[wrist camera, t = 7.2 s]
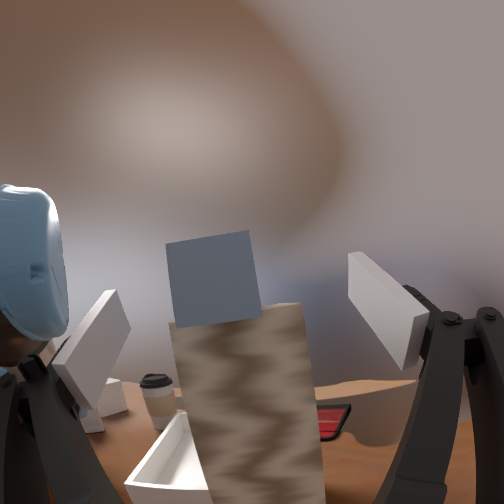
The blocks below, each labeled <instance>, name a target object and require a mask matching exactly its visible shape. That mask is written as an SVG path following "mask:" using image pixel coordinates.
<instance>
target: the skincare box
mask: <svg viewBox="0 0 504 504" xmlns="http://www.w3.org/2000/svg"><path fill="white" fill-rule="evenodd" d="M81 422H82V425H83V428H84V430H85V433H94V432H102V431H105V429H104V425H103V423H102V420H101V417H100V413H99V410H98V407H97V406H96V408H95V411H94V410H88V415H87V416H86V417H85V418H81Z"/></svg>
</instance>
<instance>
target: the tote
mask: <svg viewBox="0 0 504 504" xmlns="http://www.w3.org/2000/svg"><path fill="white" fill-rule="evenodd" d="M124 486H125V488H126V490H127V492H128V494H129V496H130V498H131V500H132V502H133V504H213V501H212V498H211V496H210V493H209V490H208V487H207V484H206V481H205V478H204V475H203V471H202V468H201V465H200V462H199V458H198V455H197V451H196V448H195V444H194V441H193V437H192V433H191V429H190V426H189V422H188V418H187V414H186V412H183V413H177V414H176V415H175V416H174V418H173V419H172V420H171V422H170V423H169V424H168V426H167V427H166V429H165V430H164V431H163V433H162V434H161V435H160V437H159V438H158V439H157V441H156V442H155V443H154V445H153V446H152V447H151V449H150V450H149V451H148V453H147V454H146V455H145V457H144V458H143V459H142V461H141V462H140V463H139V465H138V466H137V467H136V468H135V470H134V471H133V472H132V474H131V475H130V476H129V478H128V479H127V480H126V481H125V483H124Z"/></svg>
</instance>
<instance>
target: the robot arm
mask: <svg viewBox="0 0 504 504" xmlns="http://www.w3.org/2000/svg"><path fill="white" fill-rule="evenodd" d="M62 254H63V249H62V240H61V233H60V227H59V220H58V216H57V212H56V208H55V205H54V203H53V201H52V199H51V198H50V196H49V195H47V194H46V193H44V192H43V191H41V190H39V189H36V188H21V187H20V188H19V187H14V186H12V185H8V184H4V185H0V504H49V497H48V489H47V480H48V483H49V486H50V488H51V491H52V494H53V497H54V499H55V502H56V504H124V503H123V501H122V500H121V498H120V497H119V495H118V494H117V492H116V490H115V489H114V487H113V485H112V484H111V482H110V480H109V479H108V477H107V475H106V473H105V471H104V470H103V468H102V466H101V464H100V462H99V460H98V458H97V456H96V454H95V452H94V450H93V448H92V446H91V444H90V442H89V440H88V438H87V435H86V433H85V431H84V429H83V426H82V424H81V421H80V419H81V418H85V417H86V416H87V415H88V410H94V411H95V408H96V406H97V403H98V401H99V399H100V396H101V394H102V391H103V389H104V387H105V384H106V382H107V380H108V378H109V375H110V373H111V371H112V369H113V366H114V364H115V362H116V360H117V358H118V355H119V353H120V351H121V349H122V347H123V345H124V343H125V340H126V339H127V337H128V335H129V332H130V330H131V327H130V325H129V322H128V320H127V317H126V315H125V312H124V310H123V307H122V304H121V302H120V299H119V296H118V293H117V291H116V289H114V290H106V291H104V293H103V294H102V295H101V296H100V298H99V299H98V300H97V302H96V303H95V304H94V305H93V307H92V308H91V309H90V311H89V312H88V313H87V315H86V316H85V317H84V318H83V320H82V321H81V322H80V324H79V325H78V327H77V328H76V329H75V331H74V332H73V333H72V335H71V336H69V337H68V338H67V339H66V340H65V341H64V342H63V344H62V345H61V346H60V348H59V349H58V351H56V348H55V345H54V343H53V340H52V338H54V337H59V336H61V335H63V334H64V333H65V331H66V329H67V326H68V321H69V309H68V294H67V283H66V275H65V266H64V260H63V256H62ZM348 256H349V258H348V259H349V283H348V286H349V287H348V288H349V289H348V297H349V298H350V300H351V301H352V303H353V304H354V305H355V306H356V307H357V309H358V310H359V312H360V313H361V314H362V316H363V317H364V318H365V320H366V321H367V323H368V324H369V325H370V327H371V328H372V329H373V331H374V332H375V333H376V335H377V336H378V338H379V339H380V341H381V342H382V343H383V345H384V346H385V348H386V349H387V350H388V352H389V353H390V355H391V356H392V358H393V359H394V360H395V362H396V363H397V365H398V366H399V368H400V369H401V371H403V370H406V369H409V368H411V367H414V366H416V365H417V362H418V359H419V355H420V356H421V357H422V358H423V360H424V363H423V366H422V369H421V372H420V375H419V383H418V387H417V391H416V395H415V398H414V402H413V405H412V408H411V412H410V415H409V418H408V421H407V424H406V427H405V430H404V433H403V436H402V439H401V441H400V444H399V447H398V449H397V452H396V454H395V457H394V459H393V462H392V464H391V466H390V469H389V471H388V473H387V475H386V478H385V480H384V482H383V484H382V486H381V488H380V490H379V492H378V494H377V496H376V498H375V500H374V502H373V504H443V503H444V500H445V497H446V493H447V485H446V484H445V483H444V480H445V476H446V472H447V468H448V465H449V461H450V457H451V453H452V448H453V444H454V439H455V434H456V429H457V423H458V417H459V410H460V403H461V394H462V384H463V372H464V377H465V381H466V386H467V391H468V397H469V403H470V409H471V416H472V423H473V432H474V442H475V455H476V504H504V318H503V316H502V315H501V313H500V312H499V311H497V310H496V309H495V308H492V307H482V308H480V309H479V310H478V311H477V314H476V318H475V319H466V320H463V318H462V317H461V316H460V315H459V314H457V313H454V312H451V311H445V312H441V311H440V310H439V309H438V308H437V307H436V306H435V305H434V304H432V303H431V302H430V301H429V300H428V299H426V298H425V297H424V296H423V295H421V293H420V292H419V291H418V290H416V289H415V288H413V287H410V286H408V285H404V286H401V285H400V284H399V283H397V282H396V281H395V280H394V279H393V278H392V277H391V276H390V275H388V274H387V273H386V272H385V271H384V270H383V269H381V268H380V267H379V266H378V265H377V264H376V263H374V262H373V261H372V260H371V259H370V258H368V257H367V256H366V255H365V254H364V253H362V252H361V251H359V252H353V253H349V254H348ZM46 477H47V479H46Z"/></svg>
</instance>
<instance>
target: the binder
mask: <svg viewBox="0 0 504 504" xmlns="http://www.w3.org/2000/svg"><path fill="white" fill-rule="evenodd" d="M316 407H317V415H318V424H319V433H320V441H331V440H333V439H335V438H336V437H337V435H338V434H339V432H340V430H341V428H342V426H343V425H344V423H345V421H346V419H347V417H348V416H349V414H350V412H351V404H342V405H322V406H316Z"/></svg>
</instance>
